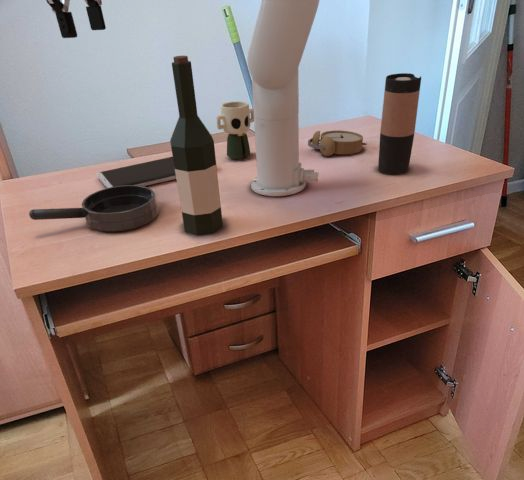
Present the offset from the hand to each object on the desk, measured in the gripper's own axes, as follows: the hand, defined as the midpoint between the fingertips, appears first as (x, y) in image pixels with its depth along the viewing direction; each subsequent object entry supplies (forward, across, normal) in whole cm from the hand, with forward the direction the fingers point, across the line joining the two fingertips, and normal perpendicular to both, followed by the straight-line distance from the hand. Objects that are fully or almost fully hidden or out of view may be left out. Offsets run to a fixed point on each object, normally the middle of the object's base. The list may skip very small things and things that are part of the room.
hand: (84, 33), depth 98 cm
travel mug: (+33, +26, -59) cm, 73 cm away
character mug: (+33, +28, -18) cm, 47 cm away
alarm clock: (+33, +38, -42) cm, 65 cm away
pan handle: (+30, -21, +2) cm, 37 cm away
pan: (+32, -13, -7) cm, 35 cm away
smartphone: (+32, +12, -2) cm, 34 cm away
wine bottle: (+33, -13, -26) cm, 44 cm away
